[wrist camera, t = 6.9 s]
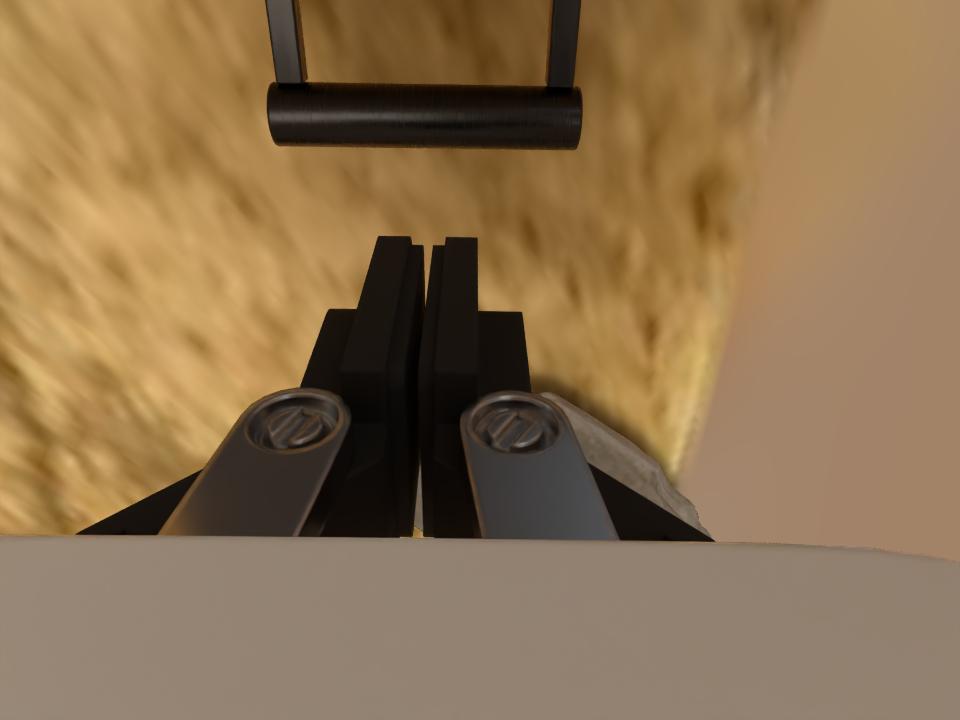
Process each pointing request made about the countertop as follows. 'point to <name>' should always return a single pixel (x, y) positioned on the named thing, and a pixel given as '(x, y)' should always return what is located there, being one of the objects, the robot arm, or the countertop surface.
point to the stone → (614, 465)
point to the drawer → (424, 100)
